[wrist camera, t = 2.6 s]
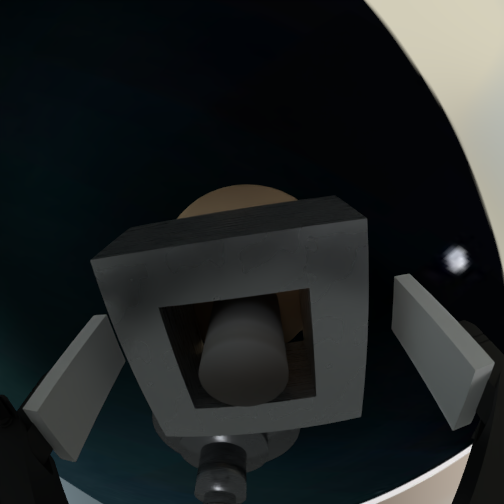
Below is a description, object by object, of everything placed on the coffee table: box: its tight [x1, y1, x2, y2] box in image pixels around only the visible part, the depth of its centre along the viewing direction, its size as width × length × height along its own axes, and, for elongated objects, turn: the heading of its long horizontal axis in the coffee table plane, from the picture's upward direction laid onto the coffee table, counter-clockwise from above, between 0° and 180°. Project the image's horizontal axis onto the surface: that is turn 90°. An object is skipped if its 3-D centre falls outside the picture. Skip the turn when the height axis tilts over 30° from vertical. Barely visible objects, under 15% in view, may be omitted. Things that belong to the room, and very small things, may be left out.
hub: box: [152, 413, 300, 504], centre depth 19 cm, size 12×12×10 cm
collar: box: [90, 196, 369, 437], centre depth 13 cm, size 9×9×4 cm
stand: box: [177, 184, 303, 407], centre depth 14 cm, size 10×10×9 cm
